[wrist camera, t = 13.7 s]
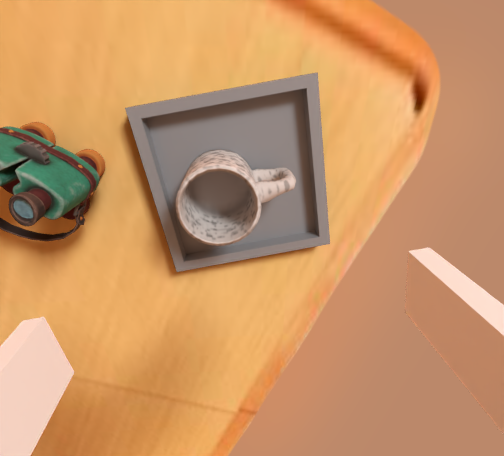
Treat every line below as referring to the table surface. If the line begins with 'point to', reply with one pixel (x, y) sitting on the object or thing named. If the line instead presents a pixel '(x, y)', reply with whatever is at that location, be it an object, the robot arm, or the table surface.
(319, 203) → the tray
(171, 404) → the table surface
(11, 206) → the binoculars
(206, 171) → the mug
